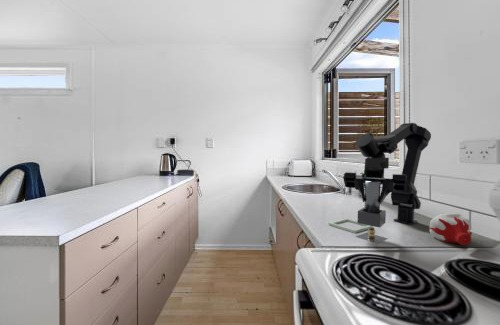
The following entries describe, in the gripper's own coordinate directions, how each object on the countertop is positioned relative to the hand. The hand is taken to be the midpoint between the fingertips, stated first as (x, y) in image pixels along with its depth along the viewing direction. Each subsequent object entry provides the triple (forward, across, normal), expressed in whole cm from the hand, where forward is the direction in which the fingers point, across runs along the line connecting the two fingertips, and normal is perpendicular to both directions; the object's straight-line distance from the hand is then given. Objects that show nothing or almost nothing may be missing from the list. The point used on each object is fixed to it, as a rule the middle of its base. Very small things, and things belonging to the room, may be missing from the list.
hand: (371, 202), depth 76 cm
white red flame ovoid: (+1, +22, +18) cm, 28 cm away
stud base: (+8, 0, +10) cm, 13 cm away
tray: (+2, -8, +16) cm, 18 cm away
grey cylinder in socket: (+4, 0, +6) cm, 7 cm away
